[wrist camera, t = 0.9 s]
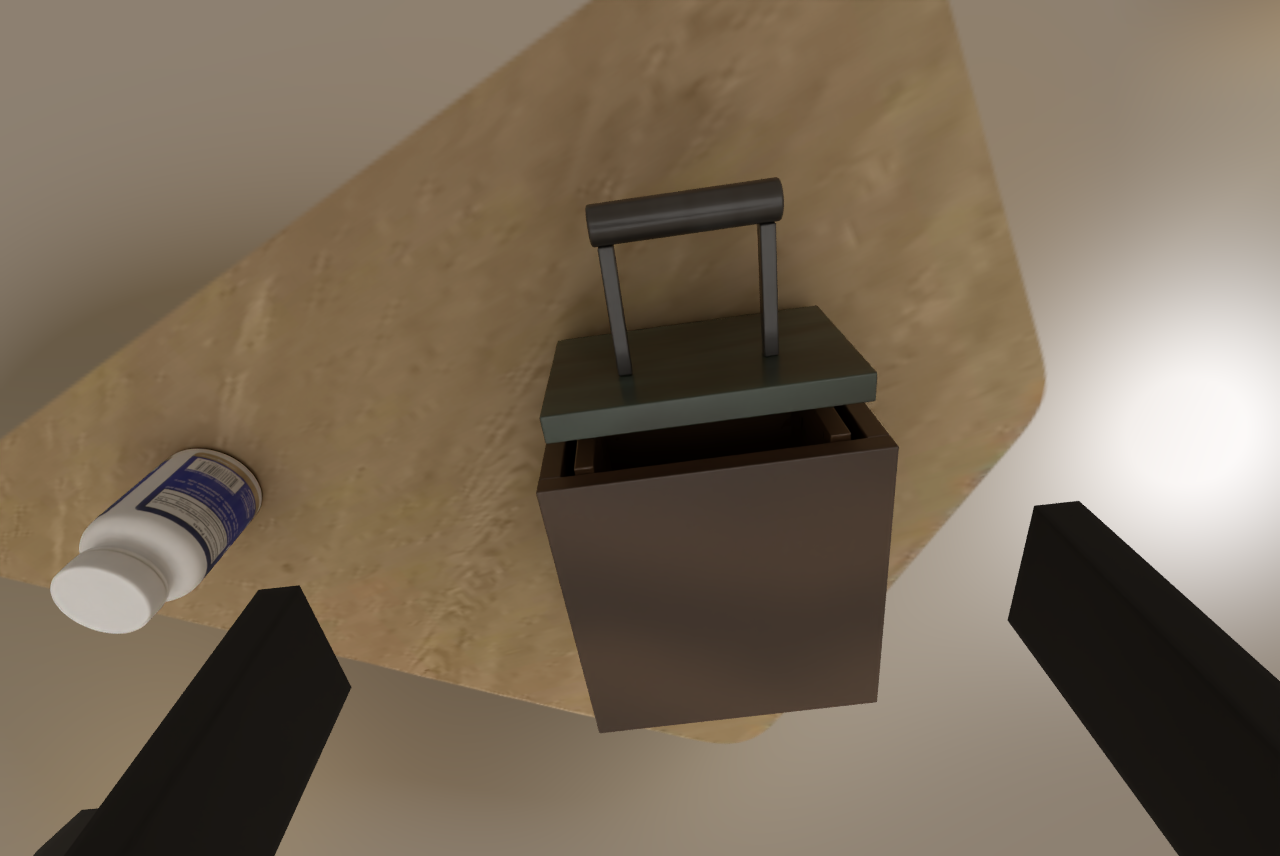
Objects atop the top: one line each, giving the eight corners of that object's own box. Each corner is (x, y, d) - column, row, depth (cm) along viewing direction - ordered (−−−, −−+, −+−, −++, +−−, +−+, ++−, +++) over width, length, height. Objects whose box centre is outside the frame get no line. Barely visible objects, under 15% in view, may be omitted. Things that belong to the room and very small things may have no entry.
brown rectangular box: (557, 383, 32) (535, 492, 24) (823, 348, 32) (899, 446, 23) (603, 592, 39) (599, 733, 31) (820, 566, 39) (877, 702, 30)
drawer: (526, 194, 27) (494, 233, 20) (818, 151, 26) (890, 176, 19) (602, 554, 37) (598, 663, 30) (815, 528, 36) (861, 633, 29)
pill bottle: (196, 530, 36) (81, 653, 28) (144, 455, 33) (1, 567, 26) (282, 514, 36) (188, 634, 28) (235, 437, 33) (118, 546, 25)
